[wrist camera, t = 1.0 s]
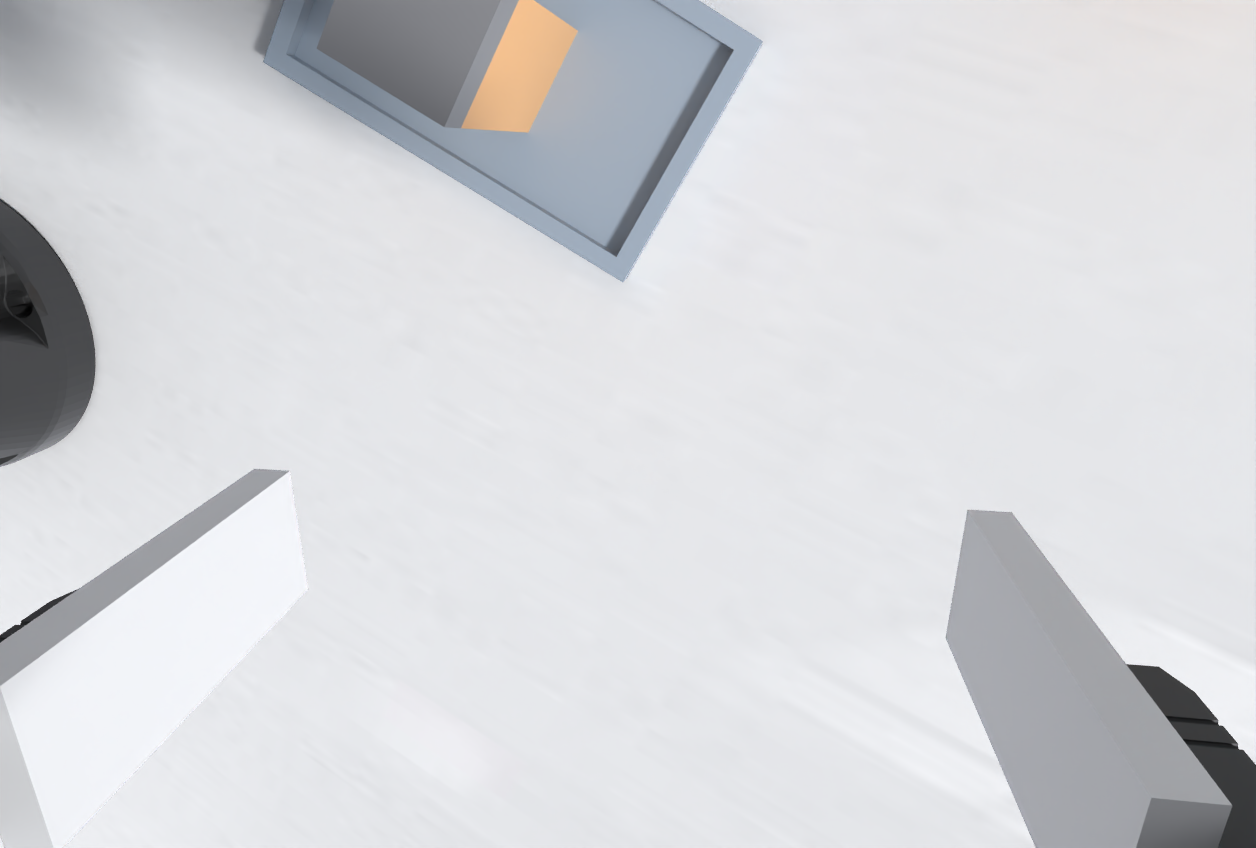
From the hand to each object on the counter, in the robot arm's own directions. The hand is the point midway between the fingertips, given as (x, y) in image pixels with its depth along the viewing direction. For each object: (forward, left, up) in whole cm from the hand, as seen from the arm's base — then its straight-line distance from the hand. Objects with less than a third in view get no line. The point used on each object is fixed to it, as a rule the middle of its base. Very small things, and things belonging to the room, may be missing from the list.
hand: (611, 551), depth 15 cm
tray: (-12, +6, -22) cm, 26 cm away
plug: (-12, +6, -21) cm, 25 cm away
